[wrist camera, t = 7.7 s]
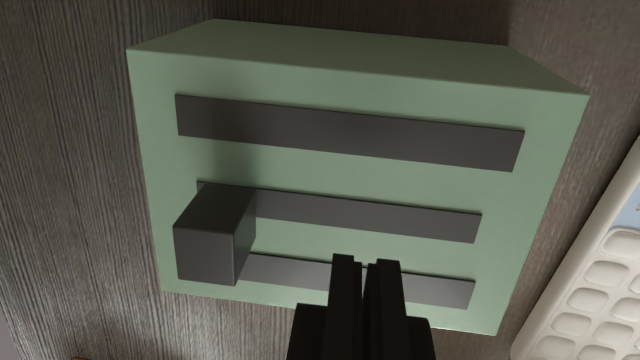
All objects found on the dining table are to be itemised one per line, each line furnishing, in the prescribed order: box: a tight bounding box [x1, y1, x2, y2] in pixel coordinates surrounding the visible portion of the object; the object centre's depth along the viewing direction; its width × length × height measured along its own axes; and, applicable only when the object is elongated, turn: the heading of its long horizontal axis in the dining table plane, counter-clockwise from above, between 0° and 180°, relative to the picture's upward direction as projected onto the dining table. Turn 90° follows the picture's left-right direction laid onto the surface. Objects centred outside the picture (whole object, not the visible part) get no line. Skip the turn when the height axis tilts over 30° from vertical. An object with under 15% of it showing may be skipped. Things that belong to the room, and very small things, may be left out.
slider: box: [172, 183, 256, 287], centre depth 13 cm, size 2×2×3 cm
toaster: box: [126, 18, 590, 336], centre depth 18 cm, size 14×10×8 cm
